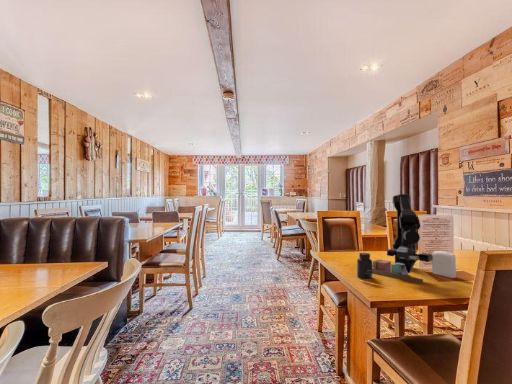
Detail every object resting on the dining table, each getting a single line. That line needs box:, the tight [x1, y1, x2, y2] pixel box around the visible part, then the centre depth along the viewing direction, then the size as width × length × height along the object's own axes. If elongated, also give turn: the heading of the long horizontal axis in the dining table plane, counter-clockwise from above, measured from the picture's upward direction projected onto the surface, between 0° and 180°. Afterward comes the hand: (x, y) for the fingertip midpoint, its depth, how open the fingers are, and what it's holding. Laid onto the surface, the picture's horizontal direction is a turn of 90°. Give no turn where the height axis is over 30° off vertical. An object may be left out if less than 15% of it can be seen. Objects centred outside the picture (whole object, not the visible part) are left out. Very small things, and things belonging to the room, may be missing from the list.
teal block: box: [391, 262, 404, 274], centre depth 139 cm, size 6×4×6 cm, turn 129°
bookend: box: [399, 264, 412, 277], centre depth 136 cm, size 7×2×5 cm, turn 129°
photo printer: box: [431, 250, 457, 279], centre depth 139 cm, size 10×4×12 cm, turn 26°
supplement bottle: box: [356, 252, 373, 280], centre depth 136 cm, size 7×7×12 cm
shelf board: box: [372, 258, 424, 285], centre depth 138 cm, size 11×24×6 cm, turn 39°
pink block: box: [377, 259, 392, 272], centre depth 144 cm, size 6×4×6 cm, turn 129°
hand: (409, 272), depth 135 cm, fingers closed
